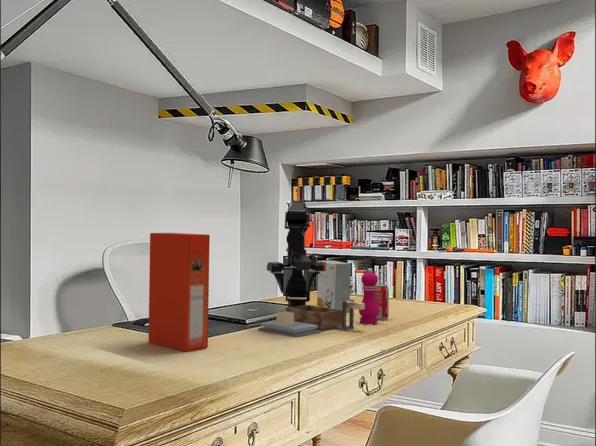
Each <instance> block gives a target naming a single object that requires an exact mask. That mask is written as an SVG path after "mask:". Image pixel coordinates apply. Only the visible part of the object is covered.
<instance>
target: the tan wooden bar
mask: <svg viewBox="0 0 596 446" xmlns="http://www.w3.org/2000/svg"><path fill="white" fill-rule="evenodd" d="M341 307H342V301H341ZM346 308H349V310H350V309H354V310H358V311H359V310H363V309H365V303H361V302H357V301H354V302H351V301H347V306H346Z"/></svg>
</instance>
